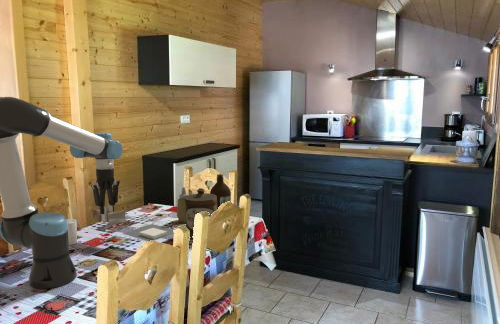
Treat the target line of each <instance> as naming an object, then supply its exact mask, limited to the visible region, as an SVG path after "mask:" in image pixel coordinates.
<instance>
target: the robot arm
mask: <svg viewBox="0 0 500 324" xmlns="http://www.w3.org/2000/svg"><path fill="white" fill-rule="evenodd" d="M20 134H24V135H29V136H32V137H35V138H38V137H41V136H42V137H45V138H47V139H50V140H53V141H56V142H58V143H60V144H64V145H66V146H69V152H70V154H71V156H72V157H73V158H74V159H84V158H90V159H95V168H96V169H95V176H96V182H95V183H94V184H91V185H90V187H91V189H92V194H93V199H94V205H95V206H96V207H99V209H100V214H102V220H101V221H102V222H106V221H107V212H106V211H109V212H113V213H115V205H116V204H117V203H118V199H119V187H120V183H121V182H120V181H119V180H116V178H115V177H114V176H115V168H114V165H115V164H114V163H115V162H114V160H118V159H120V158H121V157H122V155H123V154H124V153H123V152H124V147H123V144H122V143H121V141H118V140H115V139H113V134H111V133H110V132H96V133H93V132H91V131H88V130H86V129H83V128H81V127H79V126H76V125H74V124H72V123H69V122H68V121H65V120H63V119H60V118H57V117H56V116H53V115H51V114H50V111H48V110H46V109H44V108H42V107H40V106H37V105H35V104H33V103H30V102H28V101H25V100H23V99H20V98H18V97H13V96H0V196H1V201H2V204H3V208H4V209H3V211H2V212H1V213H0V214H1V219H0V237H1V239H3V240H4V241H5V242H6V243H8V244H10V245H13V246H16V247H22V248H27V249H31V252H32V264H31V269H30V273H29V277H28V281H29V282H28V283H29V286H30V287H32V288H35V289H41V290H42V289H53V288H54V289H55V288H57V287H62V286H64V285H67V284H69V283H71V282H73V281H74V280H75V279H76V278H77V270H76V267H75V264H74V262H73V260H72V258H71V256H70V245H69V242H68V225H67V221H66V219H67V218H66V217H65V216H64V215H63V214H62V213H60V212H55V211H51V212H49V211H43V212H39V210H38V206H37V205H36V204H34V203H33V202H32V200H31V196H30V193H29V192H30V191H29V188H28V184H27V180H26V178H25V173H24V169H23V165H22V161H21V157H20V153H19V148H18V145H17V141H16V139H17V138H18V136H19V135H20ZM106 195H107V200H108V201H107V202H108V204H107V206H105V205H106V204H105V203H106ZM106 223H107V222H106Z"/></svg>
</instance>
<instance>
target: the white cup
mask: <svg viewBox="0 0 500 324" xmlns="http://www.w3.org/2000/svg"><path fill="white" fill-rule="evenodd" d="M66 221H67V225H68V242H69V246H71V245H75V244H76V243H77V242H78V238H77V235H78V226H77V225H78V223H77V219H75V218H66Z"/></svg>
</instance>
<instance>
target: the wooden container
mask: <svg viewBox="0 0 500 324" xmlns="http://www.w3.org/2000/svg"><path fill="white" fill-rule="evenodd" d="M188 195H189V196H186V197H185V203H186V223H185V225H186V226H185V227H187V228H188V229H189V230H190V237H191V238H190V239H192V236H193V227H194V217H195V214H197V213H199V212H201V211H207V212H209V213H210V215H211V214H212V213H213V212H214V211H216V210H217V196H216V195H214V194H210V193H206V192H205V189H204V188H198V189H197V190H196V193H193V194H188Z"/></svg>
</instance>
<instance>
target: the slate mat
mask: <svg viewBox="0 0 500 324" xmlns="http://www.w3.org/2000/svg"><path fill="white" fill-rule="evenodd" d="M151 228H156V229H159V230H163V231H167V235H165V236H162V237H159V238H156V239H151V238H147V237H144V236H140V234H139V232H141V231H145V230H148V229H151ZM173 230H174V229H173V228H169V227H164V226H161V225H158V224H154V223H152V224H151V223H150V224H148V225H145V226H142V227H138V228H134V229H132V230H130V231H129V230H128V231H126V232H123V233H122V234H123V235H125V236H129V237H132V238H137V239H140V240H142V241H146V242H149V240H154V241H156V240H160V239H162V238H165V237H167V236H170V235H174V233H173Z"/></svg>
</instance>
